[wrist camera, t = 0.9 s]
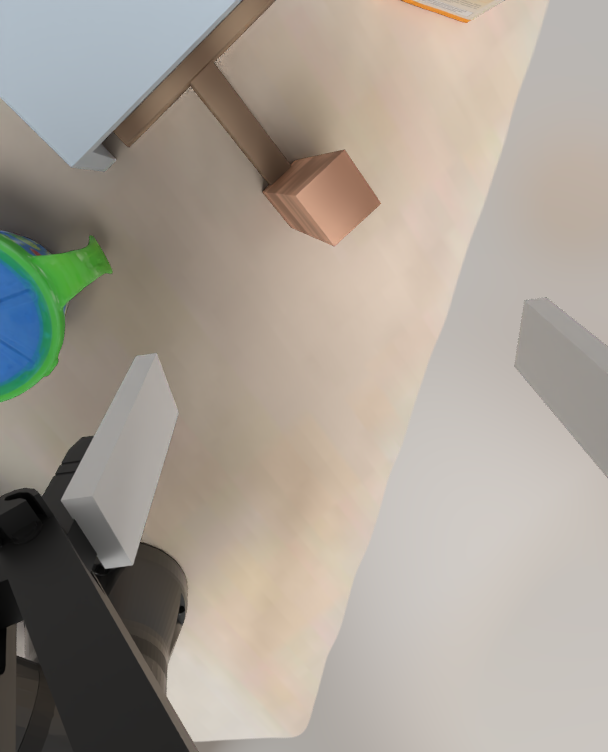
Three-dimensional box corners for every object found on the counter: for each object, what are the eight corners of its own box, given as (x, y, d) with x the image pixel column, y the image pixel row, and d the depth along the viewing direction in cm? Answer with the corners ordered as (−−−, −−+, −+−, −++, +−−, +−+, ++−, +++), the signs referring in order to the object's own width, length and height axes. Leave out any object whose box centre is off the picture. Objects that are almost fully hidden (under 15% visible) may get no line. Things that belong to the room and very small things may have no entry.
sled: (243, 271, 36) (266, 308, 26) (-70, -68, 25) (-261, -255, 14) (372, 151, 35) (453, 137, 24) (104, -266, 24) (36, -632, 13)
